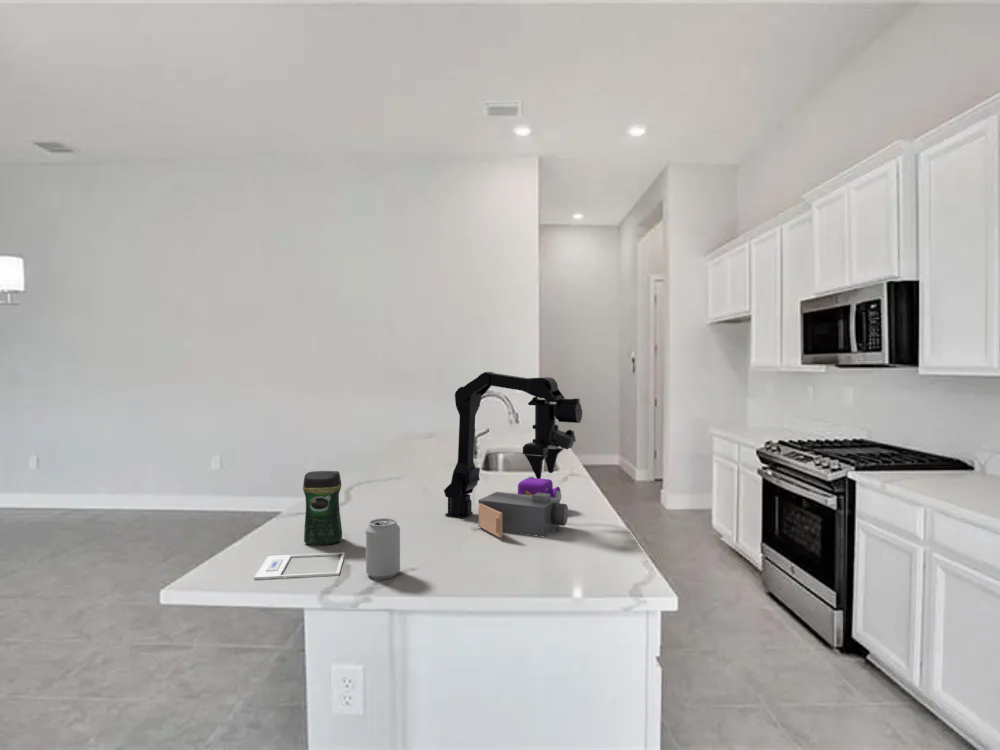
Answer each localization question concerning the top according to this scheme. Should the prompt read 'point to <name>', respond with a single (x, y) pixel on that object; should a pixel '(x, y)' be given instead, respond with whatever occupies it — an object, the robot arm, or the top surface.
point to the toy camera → (538, 487)
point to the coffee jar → (322, 507)
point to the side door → (490, 520)
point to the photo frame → (278, 563)
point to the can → (382, 548)
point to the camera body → (527, 512)
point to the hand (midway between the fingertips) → (544, 475)
